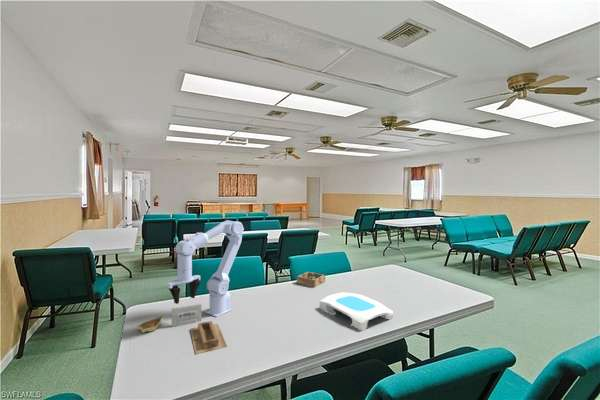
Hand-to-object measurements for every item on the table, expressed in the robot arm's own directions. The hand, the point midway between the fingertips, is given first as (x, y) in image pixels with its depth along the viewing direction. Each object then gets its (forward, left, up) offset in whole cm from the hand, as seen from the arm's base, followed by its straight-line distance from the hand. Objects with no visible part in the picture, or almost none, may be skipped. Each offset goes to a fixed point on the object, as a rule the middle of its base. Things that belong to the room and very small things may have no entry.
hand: (184, 300), depth 120 cm
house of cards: (-81, +16, -11) cm, 83 cm away
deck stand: (-78, +16, -10) cm, 80 cm away
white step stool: (-51, +57, -11) cm, 77 cm away
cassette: (-1, 0, -11) cm, 11 cm away
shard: (+8, -13, -12) cm, 19 cm away
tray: (+2, +18, -10) cm, 21 cm away
